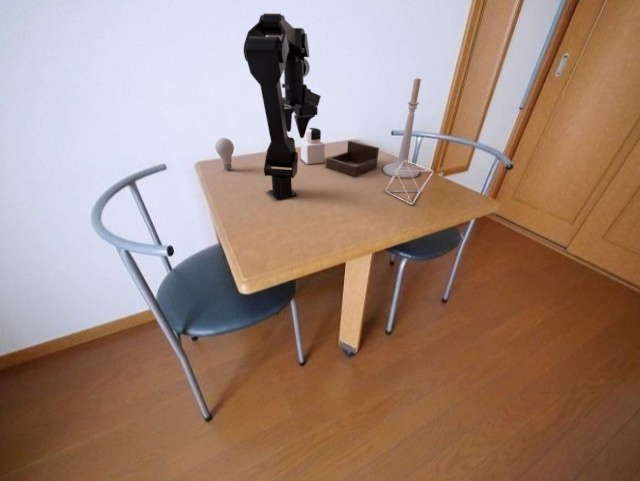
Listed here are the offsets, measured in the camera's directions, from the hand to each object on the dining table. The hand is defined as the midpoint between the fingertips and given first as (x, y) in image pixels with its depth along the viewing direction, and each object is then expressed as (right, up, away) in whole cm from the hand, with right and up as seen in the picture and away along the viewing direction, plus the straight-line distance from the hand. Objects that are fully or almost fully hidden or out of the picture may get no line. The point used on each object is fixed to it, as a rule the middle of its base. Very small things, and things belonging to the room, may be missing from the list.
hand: (295, 134), depth 94 cm
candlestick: (+38, -10, +10) cm, 40 cm away
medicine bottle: (+5, -4, +18) cm, 20 cm away
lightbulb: (-25, -10, +8) cm, 28 cm away
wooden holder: (+20, -8, +13) cm, 25 cm away
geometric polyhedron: (+34, -21, -7) cm, 41 cm away
